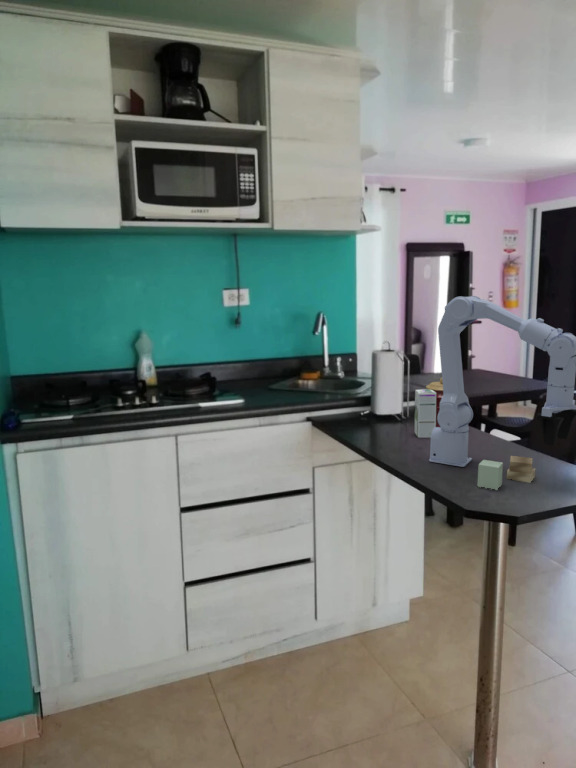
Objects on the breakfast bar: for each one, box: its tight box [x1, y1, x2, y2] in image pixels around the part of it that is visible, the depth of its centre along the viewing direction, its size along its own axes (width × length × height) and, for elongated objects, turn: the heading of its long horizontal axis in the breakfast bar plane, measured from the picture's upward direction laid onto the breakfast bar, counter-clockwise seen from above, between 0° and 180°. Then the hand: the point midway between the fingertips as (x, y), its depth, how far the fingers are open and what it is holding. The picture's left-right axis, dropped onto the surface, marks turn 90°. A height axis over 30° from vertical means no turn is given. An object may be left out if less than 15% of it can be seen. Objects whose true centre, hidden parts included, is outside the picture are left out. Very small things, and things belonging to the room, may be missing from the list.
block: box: [476, 459, 504, 491], centre depth 133 cm, size 4×4×6 cm
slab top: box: [508, 455, 533, 474], centre depth 138 cm, size 5×5×2 cm
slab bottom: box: [506, 467, 536, 484], centre depth 139 cm, size 6×6×2 cm
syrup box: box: [413, 388, 436, 439], centre depth 177 cm, size 6×6×14 cm
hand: (556, 441), depth 134 cm, fingers open, 7 cm apart
